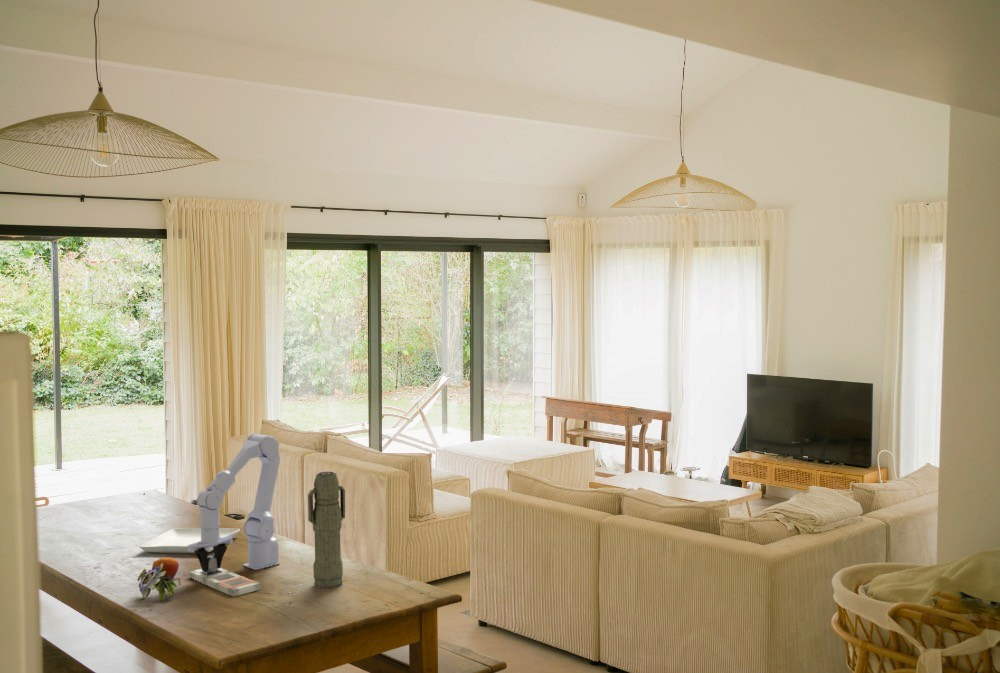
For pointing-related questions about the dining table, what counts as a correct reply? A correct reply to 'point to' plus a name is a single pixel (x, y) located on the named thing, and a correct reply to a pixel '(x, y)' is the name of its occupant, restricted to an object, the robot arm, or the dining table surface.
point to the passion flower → (156, 582)
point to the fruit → (167, 566)
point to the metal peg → (212, 565)
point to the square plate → (181, 540)
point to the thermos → (327, 529)
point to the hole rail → (226, 582)
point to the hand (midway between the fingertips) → (211, 569)
